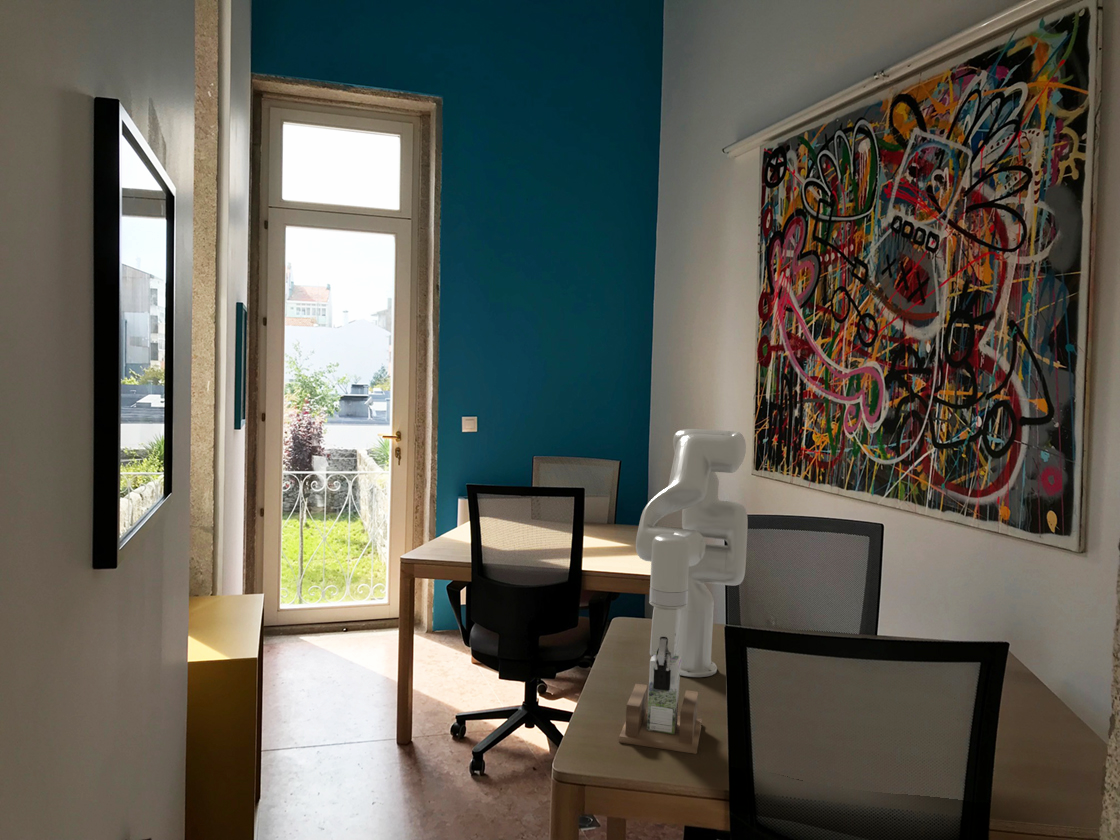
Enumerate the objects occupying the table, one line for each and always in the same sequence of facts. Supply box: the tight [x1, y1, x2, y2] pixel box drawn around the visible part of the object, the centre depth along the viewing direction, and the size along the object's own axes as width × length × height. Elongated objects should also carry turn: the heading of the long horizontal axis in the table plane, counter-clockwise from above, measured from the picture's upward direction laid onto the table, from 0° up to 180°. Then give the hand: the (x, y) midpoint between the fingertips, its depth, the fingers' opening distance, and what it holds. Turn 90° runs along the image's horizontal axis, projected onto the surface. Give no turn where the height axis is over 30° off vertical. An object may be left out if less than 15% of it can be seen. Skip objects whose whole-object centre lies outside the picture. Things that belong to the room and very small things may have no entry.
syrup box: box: [647, 652, 681, 734], centre depth 163 cm, size 6×6×14 cm
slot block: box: [618, 683, 703, 755], centre depth 163 cm, size 14×15×7 cm
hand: (664, 680), depth 163 cm, fingers open, 9 cm apart
